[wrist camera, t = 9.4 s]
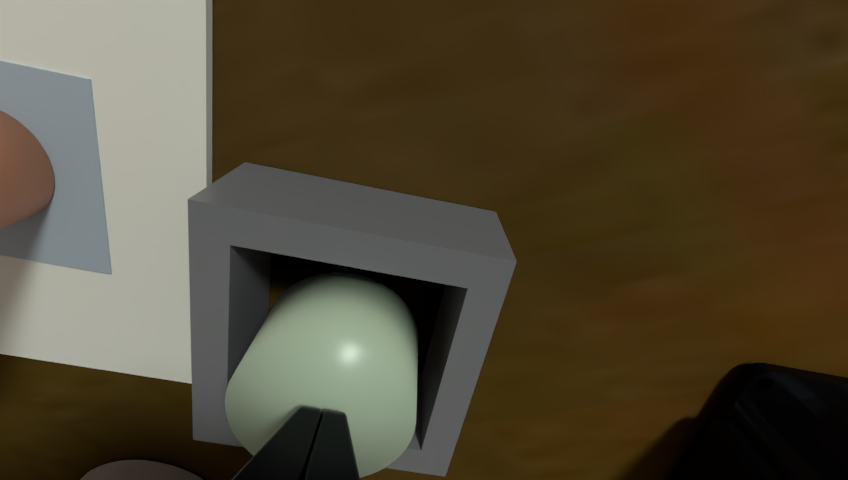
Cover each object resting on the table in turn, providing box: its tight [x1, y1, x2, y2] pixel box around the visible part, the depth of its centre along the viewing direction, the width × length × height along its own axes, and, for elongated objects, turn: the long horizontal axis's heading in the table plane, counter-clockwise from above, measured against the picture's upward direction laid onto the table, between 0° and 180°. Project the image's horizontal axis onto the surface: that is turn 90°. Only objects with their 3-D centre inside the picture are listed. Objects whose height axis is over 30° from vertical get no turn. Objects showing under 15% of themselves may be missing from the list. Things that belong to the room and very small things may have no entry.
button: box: [225, 272, 418, 478], centre depth 9 cm, size 4×4×2 cm
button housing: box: [188, 162, 517, 477], centre depth 11 cm, size 6×6×3 cm
